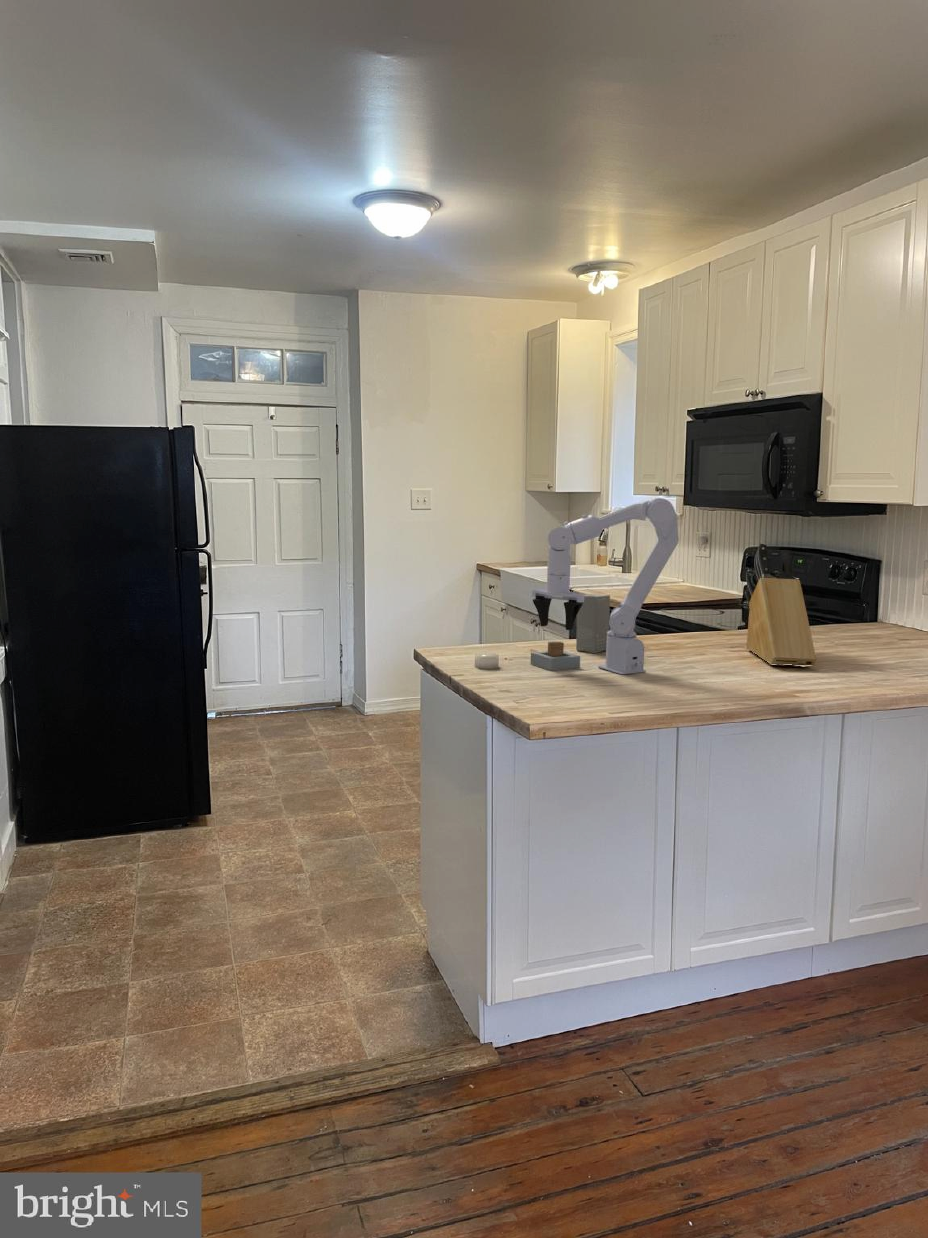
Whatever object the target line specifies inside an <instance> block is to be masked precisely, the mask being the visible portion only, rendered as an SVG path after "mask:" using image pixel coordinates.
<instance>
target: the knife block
mask: <svg viewBox="0 0 928 1238" xmlns="http://www.w3.org/2000/svg"><path fill="white" fill-rule="evenodd" d="M767 548H768V544H767V543H764V542H760V543H759V545H758V549H757V550H756V553H755V556H754V558H753V561H754V563H753V564H754V565H753V566H754V571H753V570H751V569H748V570H747V572H746V575H745V579H746V580H745V581H746V586H747V589H745V590H744V594H745V598H746V604H747V609H748V613H749V614H748V623H747V635H746V650H747V649H749V650H751V651H752V652H753V653H752V652H751V653H752V654H754V653H756V654H757V655H758V656H759V657H761V658H763V659H764V660H765V661H768V662H769V663H770V664H792V665H815V663H816V662H817V656H816V653H815V652H816V651H815V648H814V647H815V646H814V642H813V637H812V633H811V628H810V623H809V617H808V612H807V608H806V603H805V598H804V594H803V588H802V585H801V580H800V579H797V578H796V577H795V575H794V574H795V573H794V572H795V571H794V570H795V569H794V561H793V558H792V555H791V552H790V550H788V549H785V550H782V552H781V558H782V561H783V567H784V571H785V575H786V578H781V574H780V572H779V571H777V570H776V571H774V572H772V571H771V561H770V556H769V552H768V550H767ZM755 577H756V579H757V581H756V579H755ZM749 650H748V651H749ZM757 655H756V656H757ZM758 656H757V657H758ZM759 657H758V658H759ZM761 658H760V659H761ZM764 660H763V661H764ZM765 661H764V662H765ZM770 664H769V665H770Z"/></svg>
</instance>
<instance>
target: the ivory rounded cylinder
mask: <svg viewBox="0 0 928 1238" xmlns="http://www.w3.org/2000/svg"><path fill="white" fill-rule="evenodd" d="M499 655H500V654H497V653H491V652H478V653H475V654H474V667H475V668H476V669H482V670H491V669H492V670H493V669H494V670H495V669H498V668H499V663H500V661H499V660H500V657H499Z"/></svg>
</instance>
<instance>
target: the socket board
mask: <svg viewBox="0 0 928 1238" xmlns="http://www.w3.org/2000/svg"><path fill="white" fill-rule="evenodd" d="M529 665H532V666H535V665H536V667H538V668H541V669H544V670H548V671H561V670H572V669H579V668H580V669H581V655H577V654H575V653H571V652H567V651H564V650H563V656H560V657H551V656H548V650H544V651H534V652H533V651H532V652H530V664H529Z"/></svg>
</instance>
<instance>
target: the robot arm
mask: <svg viewBox="0 0 928 1238" xmlns="http://www.w3.org/2000/svg"><path fill="white" fill-rule="evenodd" d="M646 517H647V518H648V520H649V521H650V522H651V524H652V525H653V527H654V531H655V535H656V537H657V540H656V543H655V544H654V547H652V549H651V551H650V553H649V555H648V557H647V559H646V560H645V562H644V563H643V565H642V567H641V569H640V570H639V572H638V574H637V576H636V577H635V579H634V581H633V582H632V585H631V587H630V588H629V589H628V591H627V593H626V594H625V597H624V598H623V599H622V600H621V602H620V604H619V605H618V606H616V607H614V608H613V609H612V610H611V612H610V614H609V631H608V632H607V646H606V650H605V664H600V665H598V666H597V668H599V669H601V670H602V669H603V670H606V671H609V672H613V673H616V674H619V675H628V674H638V673H646V672H647V670H646V669H644V665H645V664H644V663H645V645H644V642H643V641H642V640H641V639H639V638H638V637H637V632H635V630H634V629H635V628H636V618H637V616H638V615H639V613H640V611H641V608H642V606H643V604H644V602H645V601H646V598H647V597H648V596H649V594H650V592H651V591H652V588H653V587H654V585H655V583H656V582H657V580H658V578H659V577H660V575H661V573H662V572H663V570H664V568H665V566H666V565H667V563H668V561H669V559H670V558H671V556H672V554H673V552H674V550H676V547H677V546H678V544H679V540H680V539H679V528H678V527H679V526H678V525H679V524H678V514H677V512H676V510H675V508H674V505H673V503H672V502H671V501H669V500H668V499H666V498H662V497H657V498H654V499H652V500H651V501H650V500H645V501H641V502H639V501H638V502H634V503H633V504H630V505H628V506H625V507H622V508H619V509H617V510H615V511H612V512H609V513H607V514H605V515H602V516H600V517H598V516H596V515H594V514H589V515H588V514H587V513H585V514H583V515H581V518H578V519H576V520H573V521H570V522H569V521H565V522H563V525H564V526H563V525H562V526H556V527H554V528H553V529H551V530H550V531H549V533H548V535H547V542H548V545H549V546H548V550H547V551H548V556H547V566H546V567H547V569H546V570H547V571H546V572H547V573H546V576H547V577H546V589H544V588H532V590H531V595H532V597H533V599H532V603H533V605H534V606H535V609H536V612H537V615H538V619H539V622H540V623H539V624H540V627H547V626H548V623H549V612H550V607H551V603H552V599H553V600H560V601H565V602H563V607H564V611H565V613H564V615H565V626H564V627H565V630H566V631H570V630H573V629H574V625H575V621H576V620H577V614H578V612H579V610H580V608H581V607H582V605H583V602H584V594H585V593H578V592H574V591H573V592H572V591H570V586H571V584H570V583H571V582H570V581H571V561H572V560H571V558H572V557H571V544H573V545H579V544H581V543H585V542H587V541H590V540H593V539H595V538H598V537H600V536H601V534H602V531H603V530H604V529H608V528H611V527H614V526H617V525H620V524H622V523H625V522H628V521H631V520H639V521H646V520H647V519H646Z"/></svg>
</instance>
